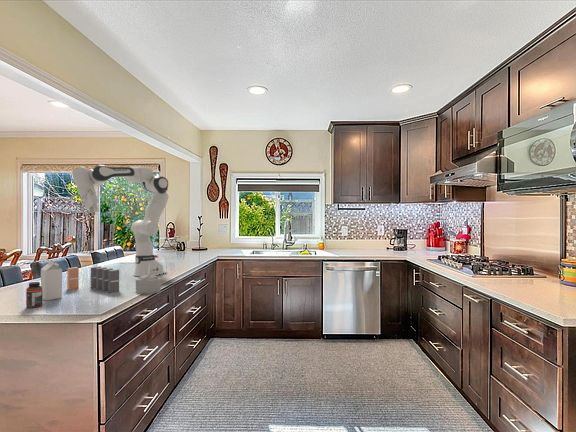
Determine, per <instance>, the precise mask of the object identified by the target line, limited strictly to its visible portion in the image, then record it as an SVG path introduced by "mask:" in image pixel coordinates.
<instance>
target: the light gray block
mask: <svg viewBox="0 0 576 432" xmlns="http://www.w3.org/2000/svg"><path fill="white" fill-rule="evenodd" d="M161 282H162V279H161V277H158V275H151V276H147V275H145V276H138V278H136V279H135V293H136V292H138V293H137V294H146V295H147V294H158V293H161V291H162V290H161V289H162V286H161V285H162V283H161Z"/></svg>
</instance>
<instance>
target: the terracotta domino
mask: <svg viewBox="0 0 576 432" xmlns="http://www.w3.org/2000/svg"><path fill="white" fill-rule="evenodd" d="M66 271H67V278H66V279H67V280H66V281H67V284H66V287H67V288H66V289H67V291H72V290H77V289H79V275H80V273H79V271H80V270H79V267H78V266H77V267H69V268H67V270H66Z"/></svg>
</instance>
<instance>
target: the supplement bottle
mask: <svg viewBox="0 0 576 432" xmlns="http://www.w3.org/2000/svg"><path fill="white" fill-rule="evenodd" d="M25 290H26V291H25V293H26V294H25V296H26V297H25V298H26V299H25V306H26V307H25V308H27V309H36V308H40V307H42V306H43V299H42V287H41V281H31V282H29V283H28V287H27V288H26V289H25Z"/></svg>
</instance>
